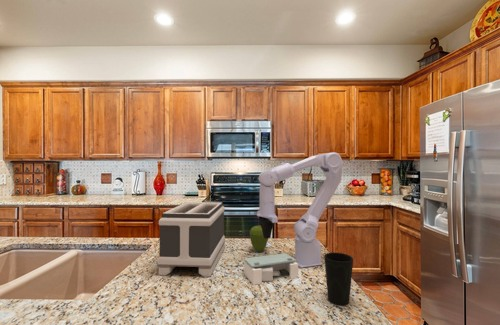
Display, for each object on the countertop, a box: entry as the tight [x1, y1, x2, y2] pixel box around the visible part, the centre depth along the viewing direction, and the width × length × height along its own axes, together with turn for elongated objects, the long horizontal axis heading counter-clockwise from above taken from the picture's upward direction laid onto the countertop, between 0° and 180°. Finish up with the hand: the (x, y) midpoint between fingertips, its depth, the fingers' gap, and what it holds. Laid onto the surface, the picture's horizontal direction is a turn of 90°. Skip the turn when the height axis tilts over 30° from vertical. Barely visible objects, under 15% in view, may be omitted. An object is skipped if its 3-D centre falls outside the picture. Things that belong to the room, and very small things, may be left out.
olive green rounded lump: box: [249, 224, 269, 253], centre depth 114 cm, size 9×8×12 cm
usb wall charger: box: [259, 265, 281, 282], centre depth 86 cm, size 4×7×4 cm, turn 92°
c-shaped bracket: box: [243, 259, 299, 286], centre depth 88 cm, size 16×9×5 cm, turn 110°
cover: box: [243, 252, 296, 267], centre depth 89 cm, size 16×8×1 cm, turn 110°
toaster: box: [156, 201, 226, 278], centre depth 104 cm, size 18×34×21 cm, turn 176°
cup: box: [323, 252, 354, 307], centre depth 72 cm, size 8×8×12 cm
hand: (266, 237), depth 99 cm, fingers closed
